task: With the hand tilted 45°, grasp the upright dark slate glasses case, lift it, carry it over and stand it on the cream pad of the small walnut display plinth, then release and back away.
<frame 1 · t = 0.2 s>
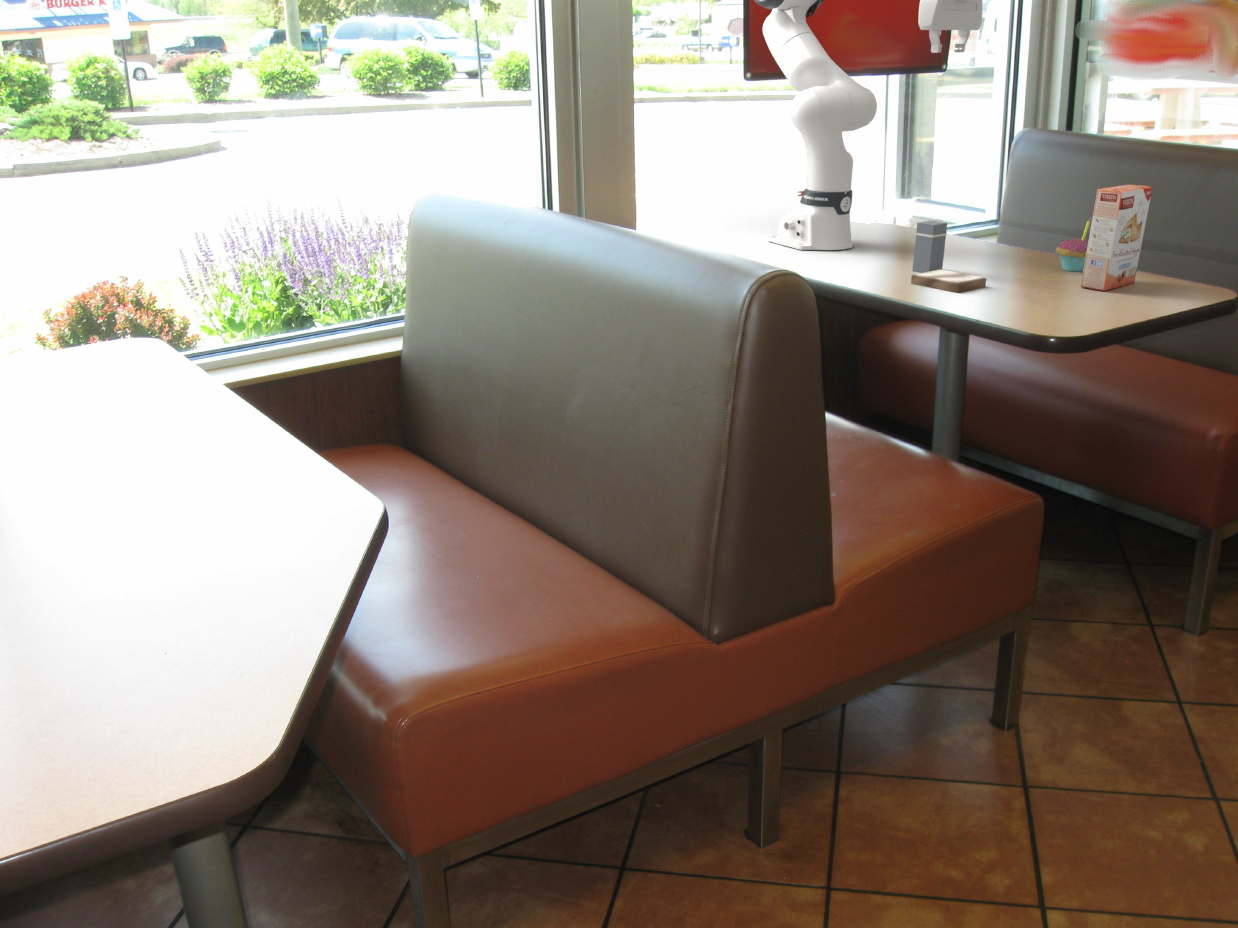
hand: (947, 52, 242), 47 cm above the table, tool pointing down, fingers open, 8 cm apart
glasses case: (927, 271, 252), on the table
cracker box: (1108, 286, 238), on the table
display plinth: (947, 285, 238), on the table
cupcake: (1072, 270, 254), on the table
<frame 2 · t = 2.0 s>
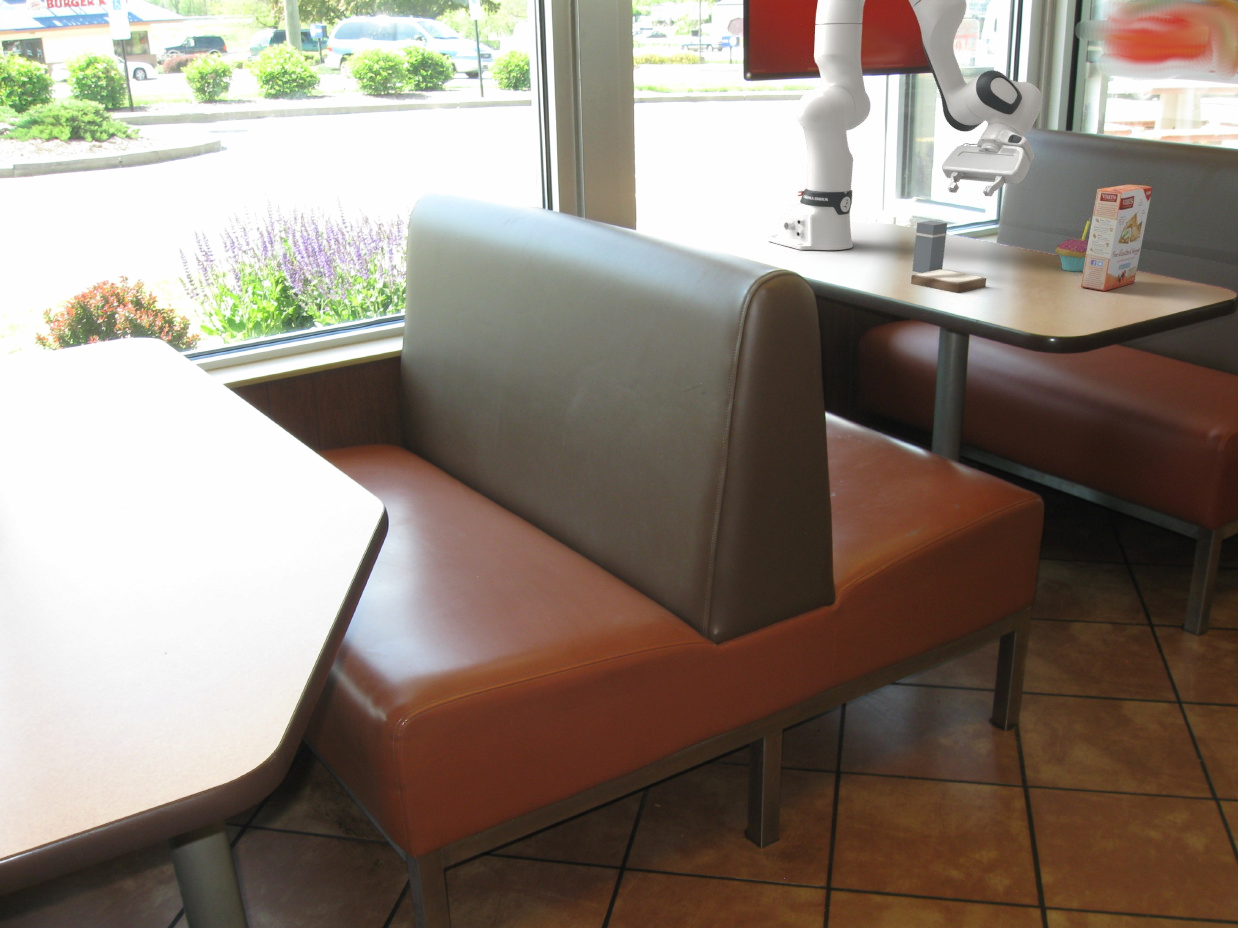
hand: (968, 192, 253), 17 cm above the table, tool tilted 45°, fingers open, 8 cm apart
nothing on the table moved.
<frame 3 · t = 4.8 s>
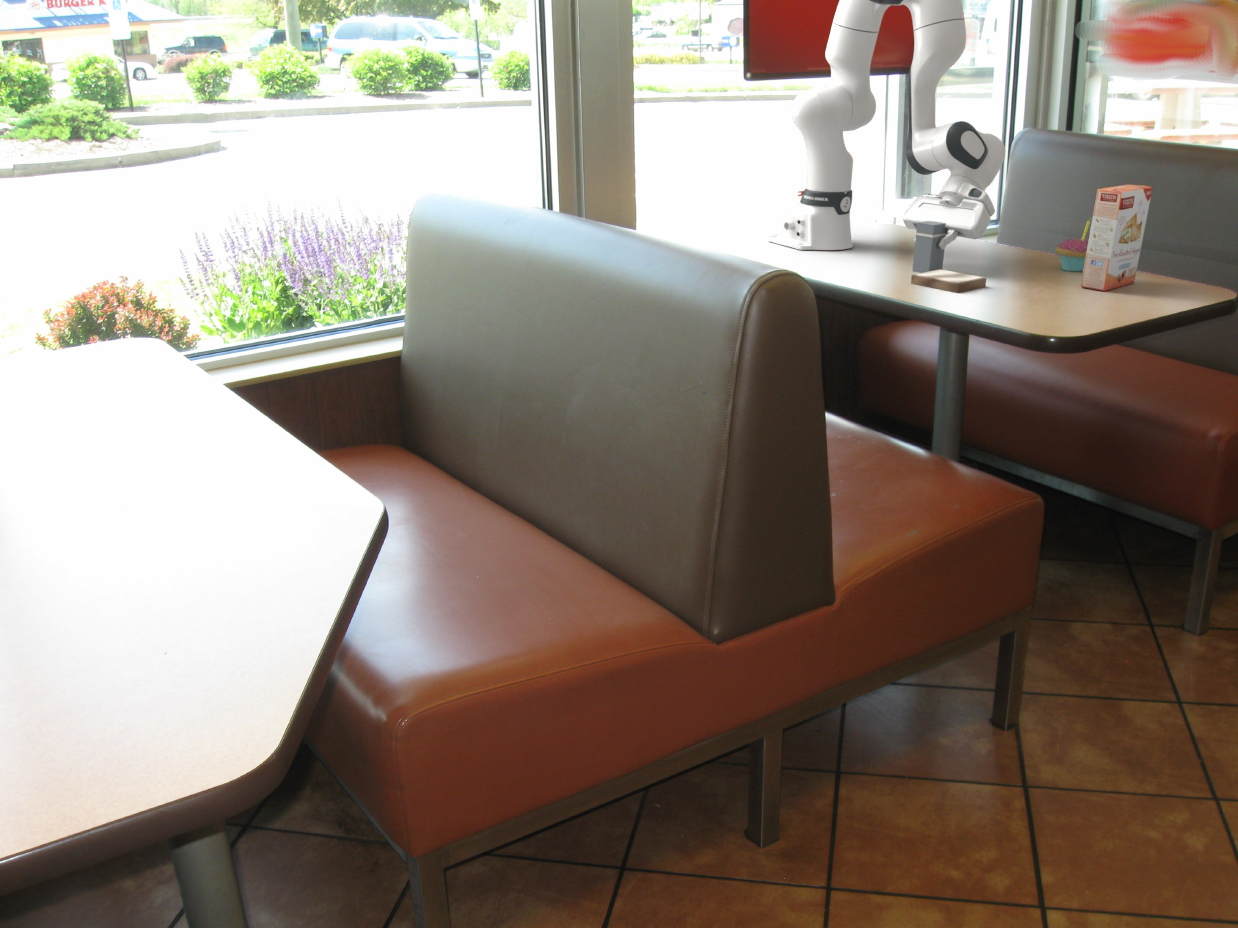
hand: (928, 245, 249), 6 cm above the table, tool tilted 45°, fingers closed on glasses case, 4 cm apart
glasses case: (927, 271, 252), on the table, touching gripper
everything else where it was.
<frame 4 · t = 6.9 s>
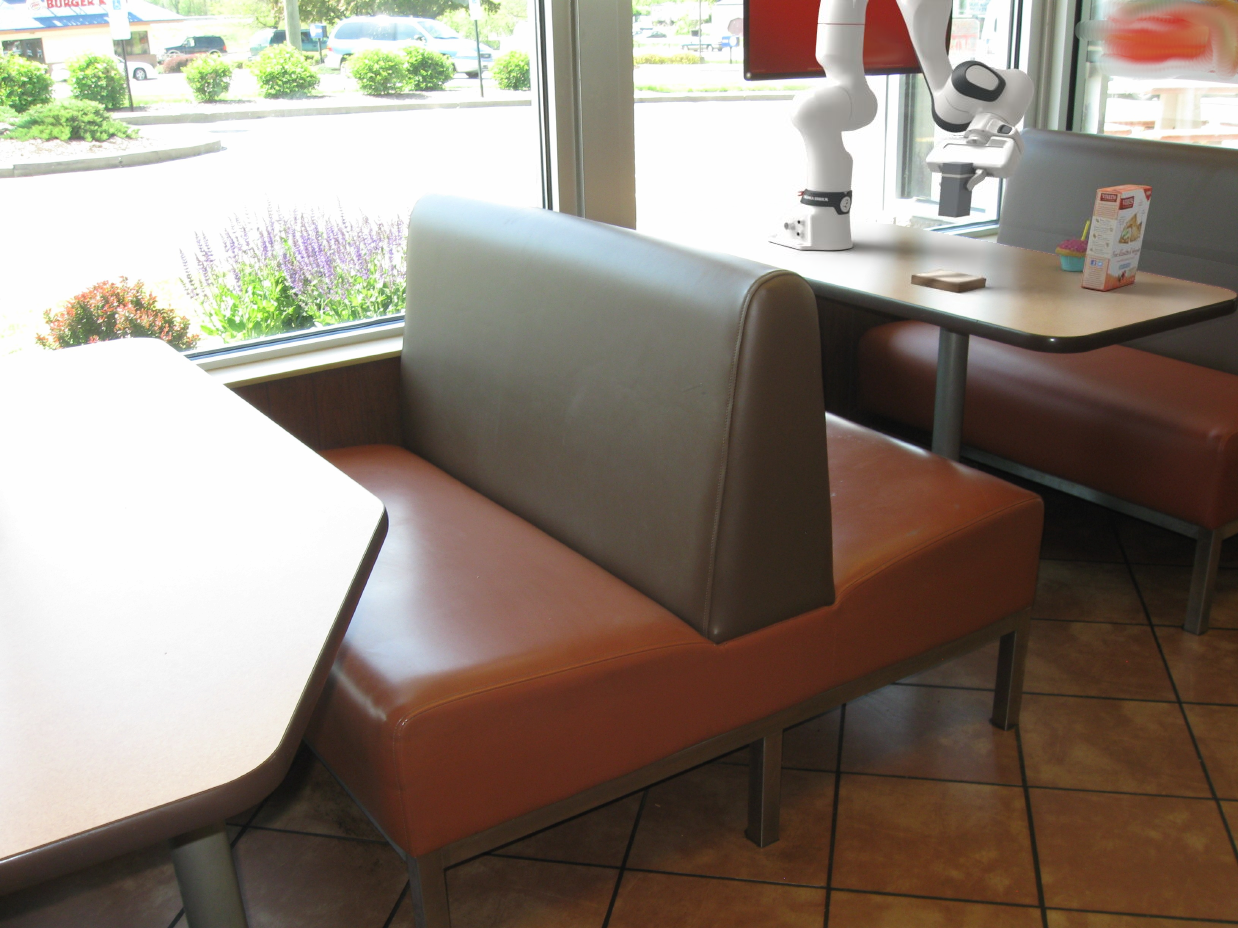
hand: (954, 187, 233), 20 cm above the table, tool tilted 45°, fingers closed on glasses case, 4 cm apart
glasses case: (953, 215, 235), point 14 cm above the table, touching gripper
everything else where it was.
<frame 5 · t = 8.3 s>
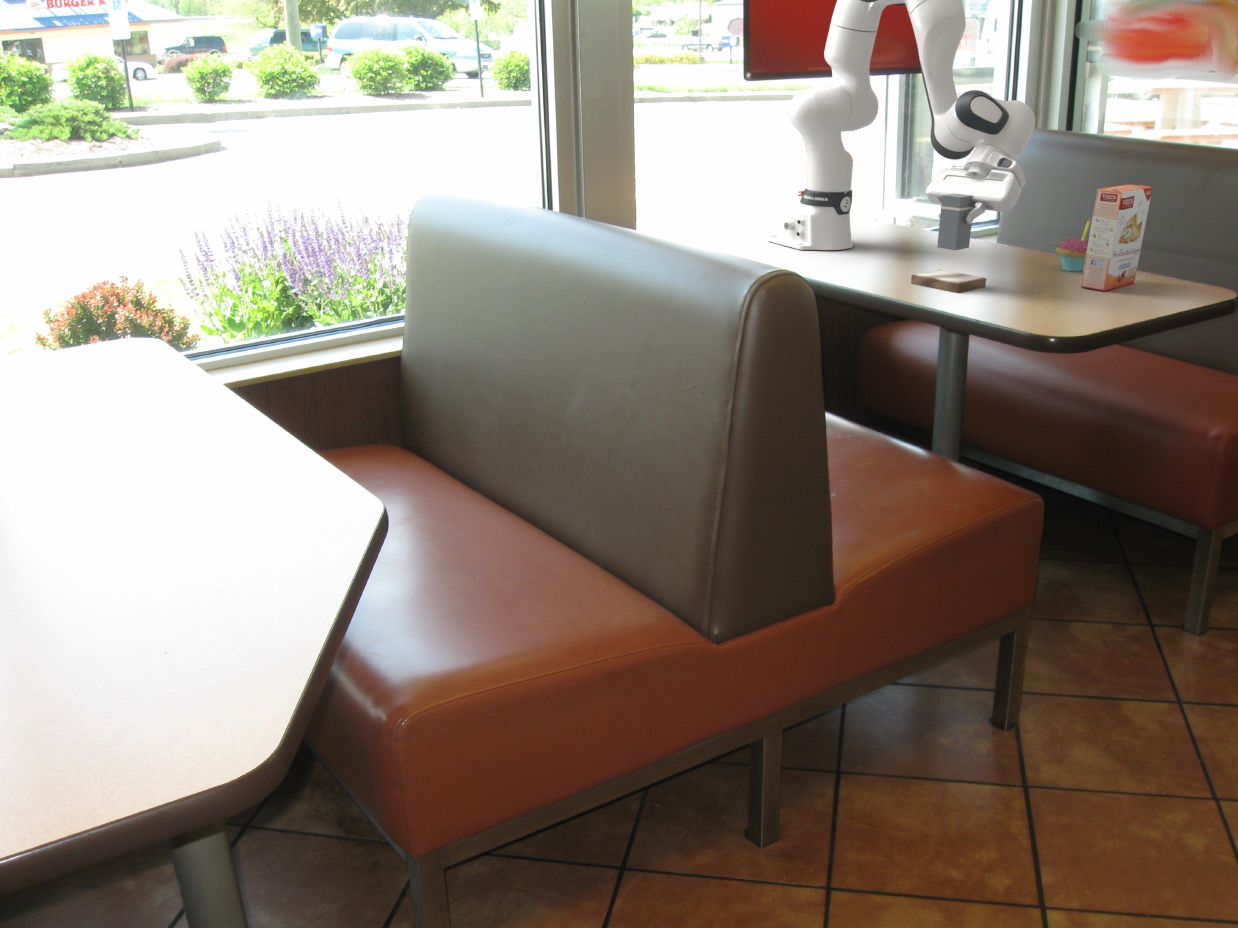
hand: (954, 220, 232), 14 cm above the table, tool tilted 45°, fingers closed on glasses case, 4 cm apart
glasses case: (953, 247, 235), point 8 cm above the table, touching gripper
everything else where it was.
when the fingers open (9 cm above the table, at t = 9.5 s): glasses case drops 1 cm, resting on display plinth.
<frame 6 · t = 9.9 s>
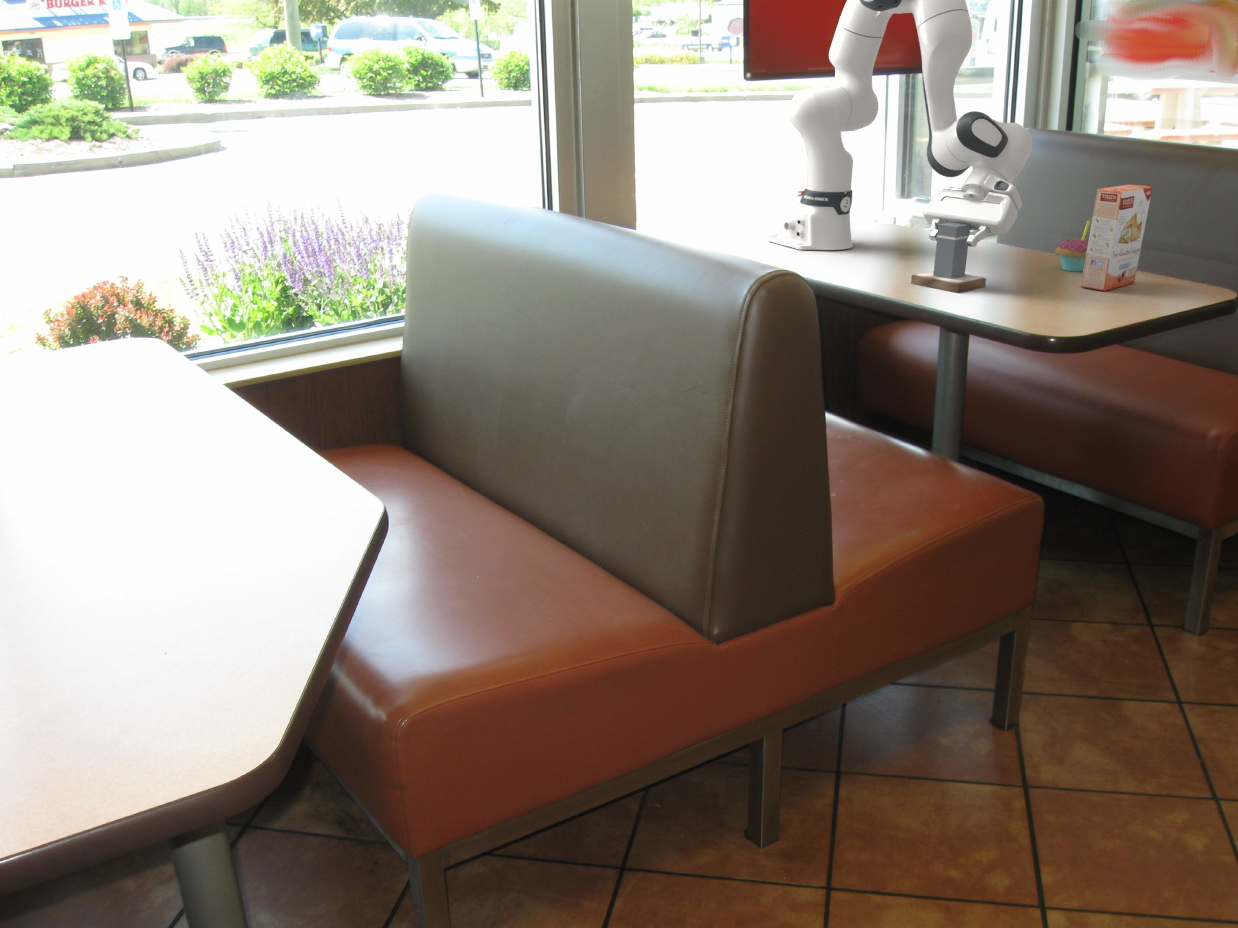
hand: (950, 242, 234), 9 cm above the table, tool tilted 45°, fingers open, 8 cm apart
glasses case: (948, 275, 237), point 2 cm above the table, touching display plinth
everything else where it was.
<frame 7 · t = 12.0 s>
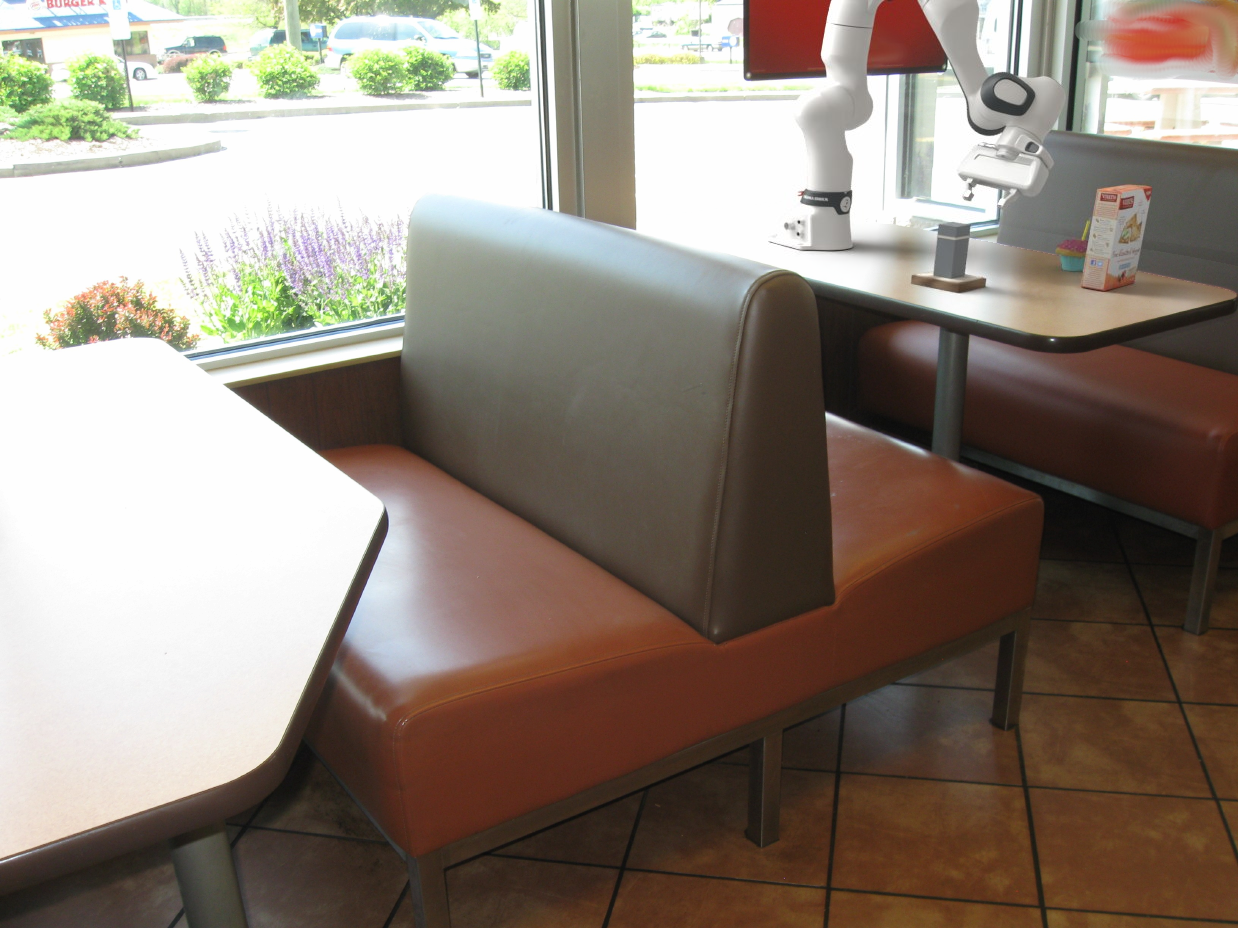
hand: (983, 204, 242), 16 cm above the table, tool tilted 35°, fingers open, 8 cm apart
nothing on the table moved.
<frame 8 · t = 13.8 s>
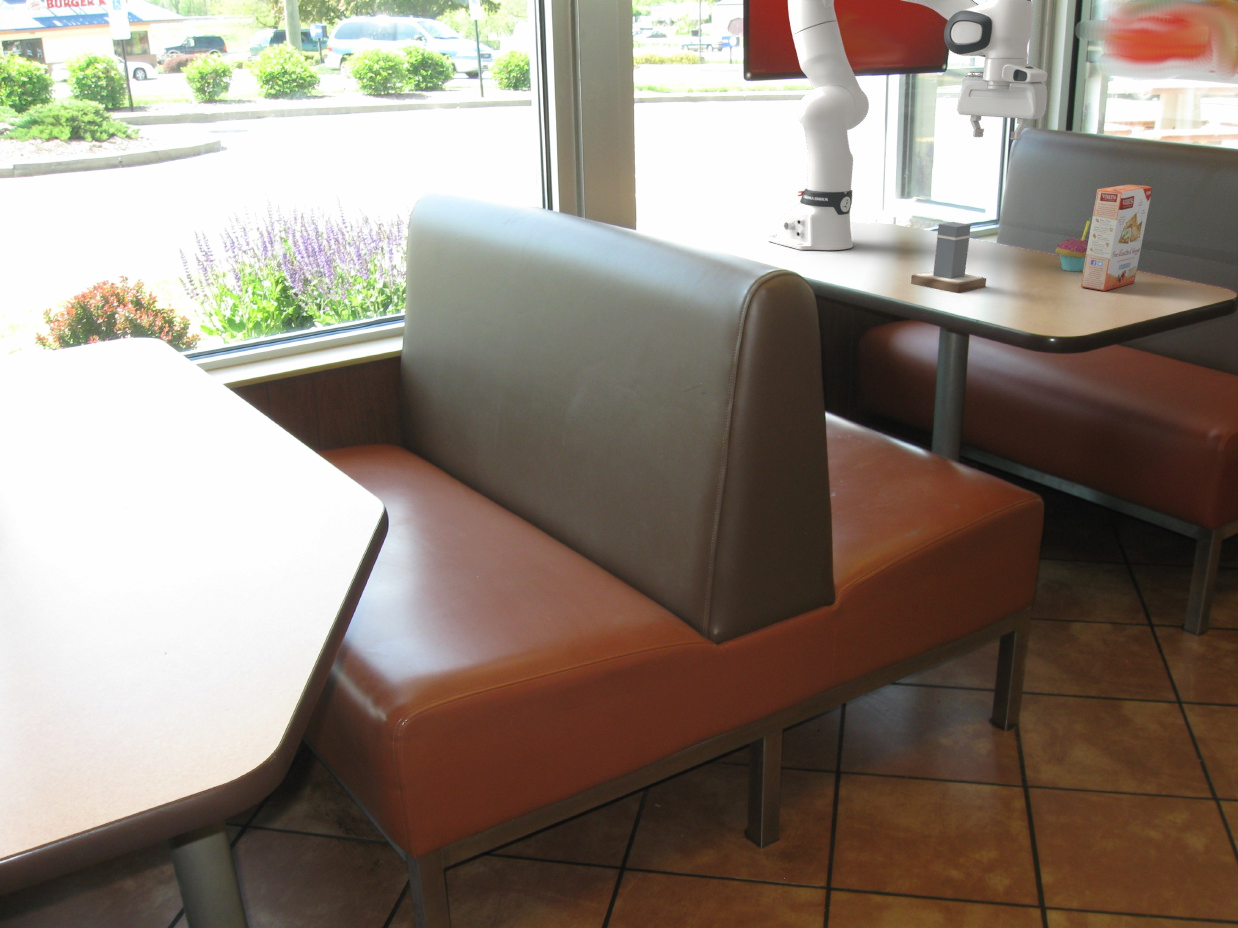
hand: (996, 138, 244), 29 cm above the table, tool pointing down, fingers open, 8 cm apart
nothing on the table moved.
at the end: glasses case inside the target area on the display plinth (0.0 cm from its centre), point 2.0 cm above the display plinth's base; glasses case tilted 0°; the gripper is holding nothing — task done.
